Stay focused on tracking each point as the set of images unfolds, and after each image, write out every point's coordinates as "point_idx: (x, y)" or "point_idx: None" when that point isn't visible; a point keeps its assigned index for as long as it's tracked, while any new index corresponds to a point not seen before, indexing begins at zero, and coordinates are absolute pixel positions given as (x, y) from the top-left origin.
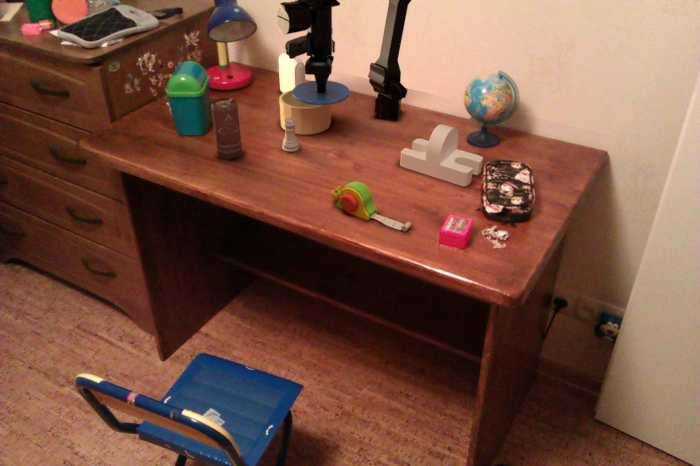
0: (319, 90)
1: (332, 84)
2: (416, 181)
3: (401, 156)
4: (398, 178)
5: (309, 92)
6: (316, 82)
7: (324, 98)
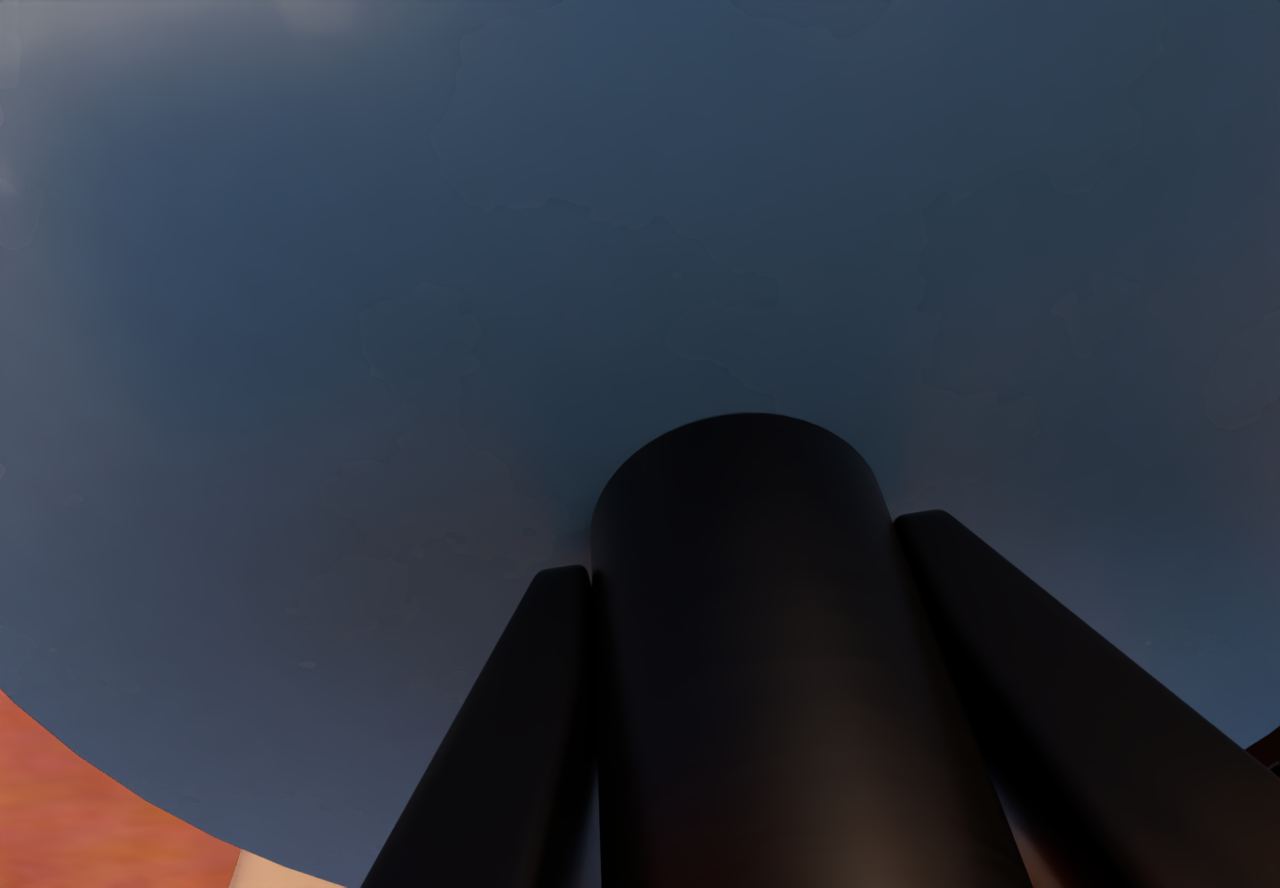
0: (533, 612)
1: (1206, 641)
2: (101, 882)
3: (242, 878)
4: (73, 810)
5: (562, 262)
6: (388, 850)
7: (286, 685)
